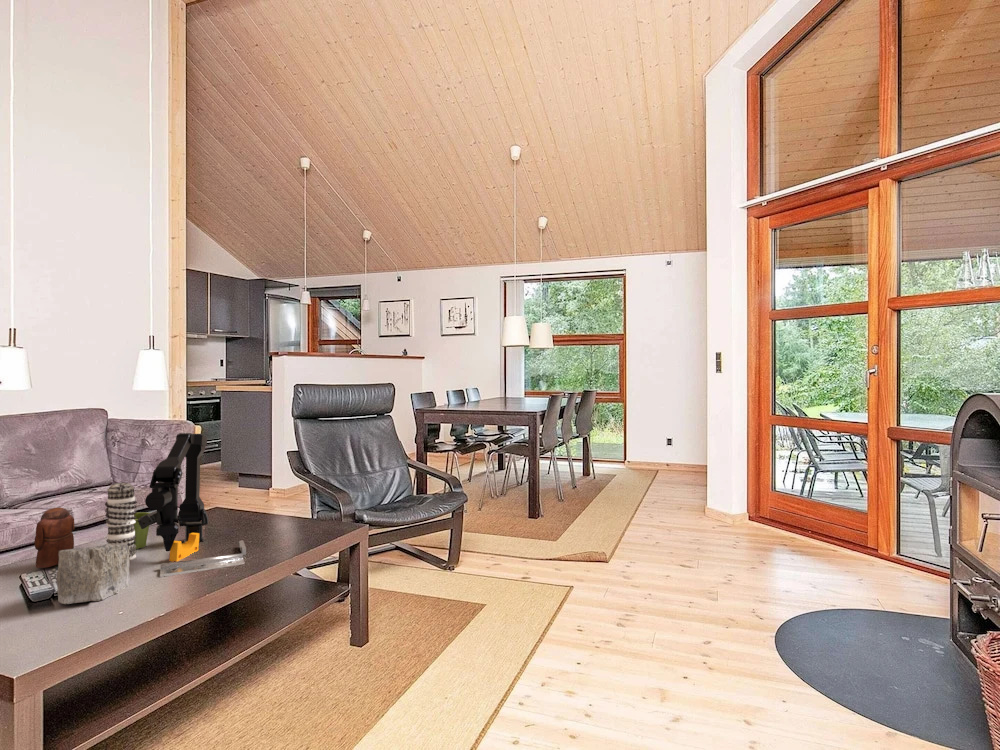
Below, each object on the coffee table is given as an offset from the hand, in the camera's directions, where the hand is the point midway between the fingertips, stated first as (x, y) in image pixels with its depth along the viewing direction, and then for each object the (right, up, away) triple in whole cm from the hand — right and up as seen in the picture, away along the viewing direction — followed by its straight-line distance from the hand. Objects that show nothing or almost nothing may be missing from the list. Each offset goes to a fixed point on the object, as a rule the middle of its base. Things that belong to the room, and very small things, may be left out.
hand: (168, 550), depth 202 cm
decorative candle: (-18, -4, +4) cm, 19 cm away
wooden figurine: (-37, -4, -1) cm, 37 cm away
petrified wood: (-5, -4, -28) cm, 29 cm away
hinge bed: (+12, -4, 0) cm, 13 cm away
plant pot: (-21, -4, +17) cm, 27 cm away
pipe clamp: (+1, -4, +6) cm, 7 cm away
